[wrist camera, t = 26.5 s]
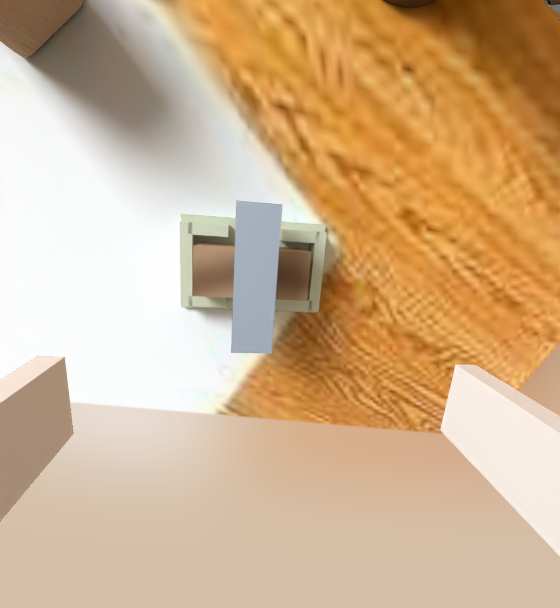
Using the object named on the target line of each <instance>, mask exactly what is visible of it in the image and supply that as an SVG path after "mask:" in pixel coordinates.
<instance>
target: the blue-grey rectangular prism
mask: <svg viewBox="0 0 560 608" xmlns="http://www.w3.org/2000/svg"><path fill="white" fill-rule="evenodd" d="M281 215H282V205H281V204H270V203H258V202H246V201H237V202H236V231H235V259H234V288H233V317H232V345H231V353H271V354H272V342H273V327H274V313H275V299H276V285H277V271H278V257H279V243H280V229H281Z"/></svg>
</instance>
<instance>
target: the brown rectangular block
mask: <svg viewBox="0 0 560 608" xmlns="http://www.w3.org/2000/svg"><path fill="white" fill-rule="evenodd" d="M234 259H235V245H234V244H217V243H199V244H197V245H194V246H193V296H200V297H227V298H233V288H234ZM310 262H311V252H309V251H306V250H304V249H301V248H286V247H279V257H278V271H277V285H276V299H280V300H307V296H308V285H309V273H310Z"/></svg>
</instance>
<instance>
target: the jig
mask: <svg viewBox="0 0 560 608" xmlns="http://www.w3.org/2000/svg"><path fill="white" fill-rule="evenodd" d="M325 227H326V225H319V224H306V223H293V222H281V229H280V243H279V247H286V248H301V249H304V250H306V251H309V252H311V262H310V273H309V285H308V296H307V300H280V299H275V311H291V312H315V313H316V312H318V311H319V302H320V293H321V283H322V274H323V265H324V256H325V246H326V237H327V232H325ZM235 231H236V218H228V217H215V216H202V215H189V214H181V222H180V265H181V306H182V307H191V308H216V309H233V298H227V297H200V296H193V246H194V245H197V244H199V243H217V244H234V245H235Z"/></svg>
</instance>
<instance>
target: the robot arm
mask: <svg viewBox="0 0 560 608" xmlns="http://www.w3.org/2000/svg"><path fill="white" fill-rule="evenodd" d="M386 1H388V2H390V3H392V4H394V5H397V6H401V7H420V6H424V5H427V4H429V3H431V2H433V1H435V0H386ZM544 2H545V4H546V6H547V7H549V8H550V9H552V10H554V12H555V13H556V15H557V17H558V18H559V20H560V0H544ZM440 430H441V431H442V432H443V434H444V435H445V436H446V437H447V438H448V439H449V440H450V441H451V442H452V443H453V444H454V445H455V446H456V447H457V448H458V449H459V450H460V451H461V452H462V454H463V455H464V456H465V457H466V458H467V459H468V460H469V461H470V462H471V463H472V464H473V465H474V466H475V467H476V468H477V469H478V470H479V472H480V473H481V474H482V475H483V476H484V477H485V478H486V479H487V480H488V481H489V482H490V483H491V484H492V485H493V486H494V487H495V488H496V489H497V491H498V492H499V493H500V494H501V495H502V496H503V497H504V498H505V499H506V500H507V501H508V502H509V503H510V504H511V505H512V506H513V507H514V509H515V510H516V511H517V512H518V513H519V514H520V515H521V516H522V517H523V518H524V519H525V520H526V521H527V522H528V523H529V524H530V525H531V526H532V527H533V529H534V530H535V531H536V532H537V533H538V534H539V535H540V536H541V537H542V538H543V539H544V540H545V541H546V542H547V543H548V544H549V545H550V546H551V548H552V549H553V550H554V551H555V552H556V553H557V554H558V555H559V556H560V416H558V415H556V414H555V413H553V412H552V411H550V410H548V409H547V408H545V407H543V406H542V405H540V404H539V403H537V402H535V401H534V400H532V399H530V398H529V397H527V396H525V395H524V394H522V393H520V392H519V391H517V390H516V389H514V388H512V387H511V386H509V385H507V384H506V383H504V382H502V381H501V380H499V379H497V378H496V377H494V376H493V375H491V374H489V373H488V372H486V371H484V370H483V369H481V368H479V367H478V366H476V365H456V366H455V370H454V374H453V379H452V383H451V387H450V391H449V396H448V400H447V404H446V408H445V412H444V417H443V421H442V425H441V429H440ZM72 435H73V425H72V417H71V408H70V399H69V391H68V382H67V373H66V365H65V357H44V356H37V357H36V358H34V359H33V360H31V361H29V362H28V363H26V364H24V365H23V366H21V367H20V368H18V369H16V370H15V371H13V372H12V373H10V374H8V375H7V376H5V377H4V378H2V379H0V521H1V520H2V519H3V517H4V516H5V515H6V514H7V513H8V511H9V510H10V509H11V507H13V505H14V504H15V503H16V502H17V501H18V499H19V498H20V497H21V496H22V495H23V493H24V492H25V491H26V490H27V489H28V488H29V486H30V485H31V484H32V483H33V482H34V480H35V479H36V478H37V477H38V476H39V474H40V473H41V472H42V471H43V470H44V468H45V467H46V466H47V465H48V464H49V462H50V461H51V460H52V459H53V458H54V456H55V455H56V454H57V453H58V452H59V450H60V449H61V448H62V447H63V446H64V444H65V443H66V442H67V441H68V440H69V438H70V437H71V436H72Z"/></svg>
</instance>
